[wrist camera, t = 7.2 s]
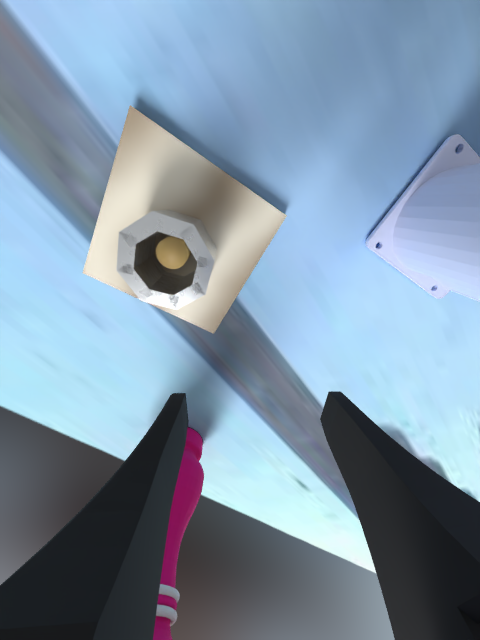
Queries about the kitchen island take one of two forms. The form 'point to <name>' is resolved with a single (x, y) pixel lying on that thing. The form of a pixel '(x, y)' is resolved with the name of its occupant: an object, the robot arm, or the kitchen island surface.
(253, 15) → the kitchen island surface
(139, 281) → the collar
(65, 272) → the kitchen island surface
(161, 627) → the pepper mill
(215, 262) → the post block
